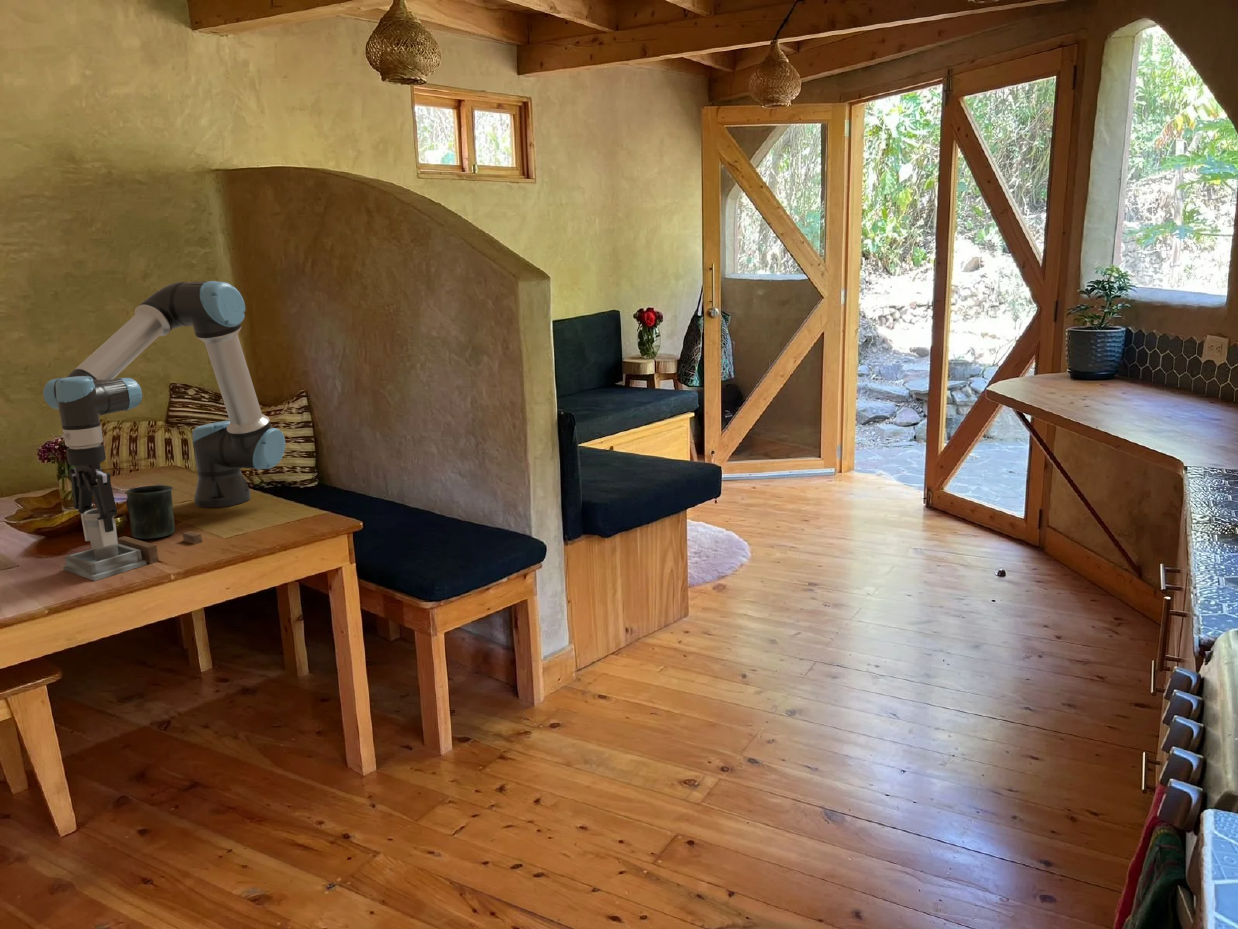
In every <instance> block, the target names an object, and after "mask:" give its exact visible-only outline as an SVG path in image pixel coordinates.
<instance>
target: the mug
mask: <svg viewBox="0 0 1238 929" xmlns="http://www.w3.org/2000/svg"><path fill="white" fill-rule="evenodd" d="M173 489H174V488H173V486H170V485H159V484H158V485H145V486H138V487H137V486H136V487H133V488H129V489H127V490H125V491H124V494H126V496H127V497H126V498H127V499H126V507H127V511H128V514H129V526H130V532H131V536H132V537H133V539H138V540H139V539H142V540H143V539H144V540H146V539H156V538H157V539H158V538H163V537H167V536H170V535H173V534H175V532H176V525H175V516H174V513H175V512H174V505H173V495H172V490H173Z"/></svg>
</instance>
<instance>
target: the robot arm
mask: <svg viewBox="0 0 1238 929" xmlns="http://www.w3.org/2000/svg"><path fill="white" fill-rule="evenodd" d="M245 312H246V304H245V299H244V298H243V296H242V294H241V292H240V291H239V290H238V289H237V288H236V287H235V286H233V285H231V284H230V283H228V282H225V281H216V280H210V281H209V280H206V281H204V280H203V281H177V282H173V283H170V284H168V285H165V286H164V287H162V288H160V289H159V290H157V291H156V292H154V293H152V294H151V295H149V297H147V298H146V299H145V300H144V301H143V302H141V303H140V304H139V305H138V306H136V307H135V311H134V315H133V316H132V317H131V318H130V319H129V320H128V321H127V322H125V323H124V324H123V325H122V326H121V327H119V329H118V330H116V331H115V332H114V333H113V334H112V335H111V336H110V337H108V339H107V340H106V341H104V342H103V343H102V344H101V345H100V346H99V347H98V348H97V349H96V350H94V352H92V353H91V354H90V355H89V356H88V357H86V358H85V360H83V361H82V362H81V363H80V364H79V365H78V366H76V368H74V369H73V370H72V371H71V372H70V373H69V374H67V375H66V376H65V377H57V378H54V379H50V380H49V381H47V383H46V384H45V385H44V387H43V391H42V393H43V394H42V395H43V396H42V397H43V398H44V401H45V403H46V404H47V405H48V406H49V407H51V409H54V410H58V412H59V418H60V423H61V429H62V432H63V433H62V435H61V438H62V439H64V444H65V447H67V448H66V450H65V452H66V459H67V462H68V465H70V466H75V467H73V468H69V469H68V474H69V476H70V482H71V490H72V500H73V501H72V502H73V508H74V510H76V511H77V510H78V513H79V514H80V517H81V523H82V529H83V535H84V541H85V542H90V539H89V535H88V532H87V528H86V522H85V521H84V520H82V517H83V516H84V512H86V511H88V510H91V509H95V507H96V508H97V509H98V512H99V515H100V517H98V518H97V519H98V520H99V526H100V532H101V538H102V544H103V546H104V547H105V546H109V545H112V544H116V538H115V532H114V526H113V520H112V517H113V516H114V515H115V516H117V515H118V510H117V506H116V501H115V496H114V492H113V487H112V483H111V482H112V481H111V480H112V479H111V474H110V472H103V469H102V467H101V463H103V462H104V461H106V459H107V456H106V451H105V450H106V449H105V445H104V444H102V443H103V442H104V436H103V431H102V425H101V420H100V418H101V417H100V416H103V415H104V416H105V415H109V414H113V413H119V412H123V411H125V412H126V411H129V410H132V409H135V408H137V407H139V405H140V404H141V403H142V399H143V392H142V387H141V386H140V384H139V383H138V382H137V381H136V380H135V379H133V378H131V377H117V376H118V375H120V373H122V372H123V371H124V370H125V369H126V368H127V367H128V366H129V365H130V364H131V363H132V362H134V360H135V359H136V358H138V356H140V354H142V353H143V352H144V351H145V350H146V349H147V348H149V346H151V344H152V343H153V342H154V341H156V340H157V339H158V338H159V337H165V336H167V335H168V334H169V333H170V332H171V331H172V330H175V329H177V328H183V327H192V329H193V331H194V335H195V338H196V339H199V340H200V341H202V342H204V346H205V348H206V350H207V354H208V358H209V361H210V365H211V368H212V370H213V373H214V377H215V379H216V382H217V386H218V388H219V392H220V395H221V397H222V400H223V404H224V407H225V409H226V413H227V416H228V419H229V420H222V421H216V422H211V423H205V424H203V425H199V426H196V427H195V428H194V429H193V430H192V446H193V452H194V459H195V467H196V472H197V483H196V487H195V492H194V496H193V497H194V505H195V506H196V507H200V508H208V509H209V508H210V509H211V508H223V507H230V506H234V505H239V504H242V503H244V502H247V501H250V500H251V498H252V496H251V495H252V494H251V489H250V487H249V485H248V483H247V481H246V480H245V478H244V475H243V474H242V469H251V470H253V469H254V470H260V471H261V470H269V469H273V468H275V467H276V466H277V465H279V464H280V462H281V461H282V459H283V457H284V454H285V450H286V439H285V435H284V433H283V431H281V430H280V429H279V428H277V427H273V426H272V423H271V420H270V418H269V416H268V415H265V414H263V413H262V410H261V407H260V404H259V400H258V396H257V394H256V390H255V387H254V384H253V381H252V376H251V374H250V371H249V370H250V369H249V368H248V365H247V364H248V363H247V361H246V358H245V354H244V351H243V348H242V345H241V341H240V338H239V335H238V334H239V332H240V331H241V329H242V323H243V321H244V320H245V316H246V315H245ZM116 377H117V378H116ZM93 500H94V504H95V507H94V506H93ZM115 516H114V517H115Z"/></svg>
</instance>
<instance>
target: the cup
mask: <svg viewBox="0 0 1238 929" xmlns="http://www.w3.org/2000/svg"><path fill="white" fill-rule="evenodd" d="M115 516H116V515H114V516H113V517H112V520H113V526H114V532H115V538H116V544H112V545H109V546H105V547H104V546H103V544H102V538H101V532H100V526H99V520H98V519H97V518H98V517H100V515H99V512H98V509H97V507H96V508H94V509H91V510H88V511H86V512H84V516H83V517H82V518H81V521H82V520H84V521H85V522H86V528H87V532H88V535H89V539H90V541H89V543H90V546H91V549H93V551H94V555H95V558H96V562H97V561H101V560H104V559H107V558H111V557H114V556H118V547H117V544H118V541H117V538H118V534H117V527H116V526H117V525H116V519H115Z"/></svg>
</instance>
